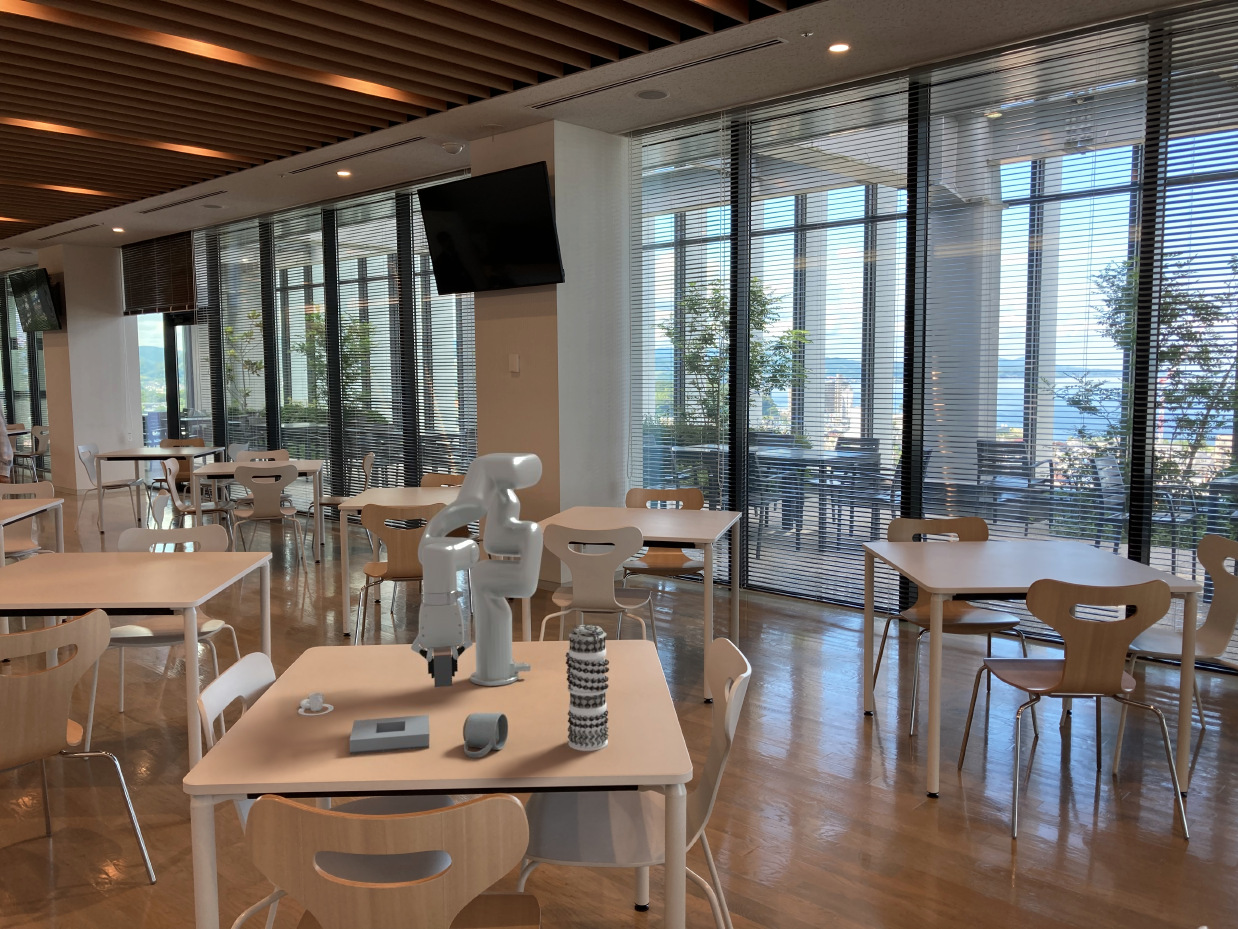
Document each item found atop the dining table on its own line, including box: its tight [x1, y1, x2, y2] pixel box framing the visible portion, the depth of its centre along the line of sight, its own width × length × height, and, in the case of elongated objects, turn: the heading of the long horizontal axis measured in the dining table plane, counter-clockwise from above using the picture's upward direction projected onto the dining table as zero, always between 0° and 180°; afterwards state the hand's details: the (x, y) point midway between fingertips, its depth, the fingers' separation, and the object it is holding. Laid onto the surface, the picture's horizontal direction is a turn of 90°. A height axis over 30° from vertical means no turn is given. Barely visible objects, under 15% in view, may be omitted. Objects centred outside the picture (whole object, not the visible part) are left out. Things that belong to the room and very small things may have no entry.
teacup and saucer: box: [297, 692, 334, 717], centre depth 213 cm, size 9×8×4 cm
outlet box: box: [349, 714, 430, 755], centre depth 193 cm, size 16×12×3 cm
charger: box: [432, 647, 453, 688], centre depth 207 cm, size 4×4×8 cm
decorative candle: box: [565, 624, 610, 752], centre depth 190 cm, size 9×9×25 cm
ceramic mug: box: [462, 712, 509, 759], centre depth 187 cm, size 10×8×7 cm
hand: (443, 674), depth 207 cm, fingers closed on charger, 4 cm apart
